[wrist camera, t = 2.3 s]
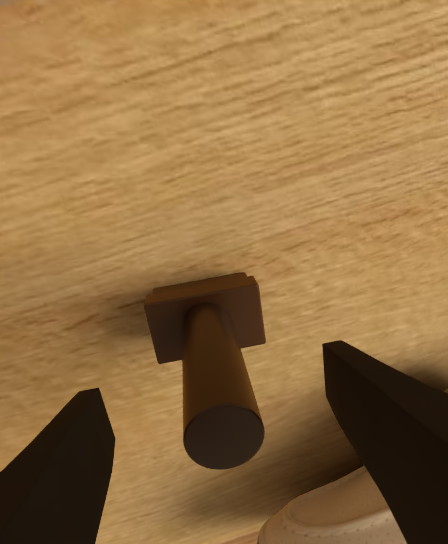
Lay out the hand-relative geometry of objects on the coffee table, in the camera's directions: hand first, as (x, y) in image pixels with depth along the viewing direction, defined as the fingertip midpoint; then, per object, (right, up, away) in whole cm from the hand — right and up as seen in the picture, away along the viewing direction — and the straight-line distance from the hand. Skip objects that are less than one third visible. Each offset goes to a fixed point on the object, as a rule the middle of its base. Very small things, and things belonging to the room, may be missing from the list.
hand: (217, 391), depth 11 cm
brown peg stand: (-1, +2, +7) cm, 7 cm away
